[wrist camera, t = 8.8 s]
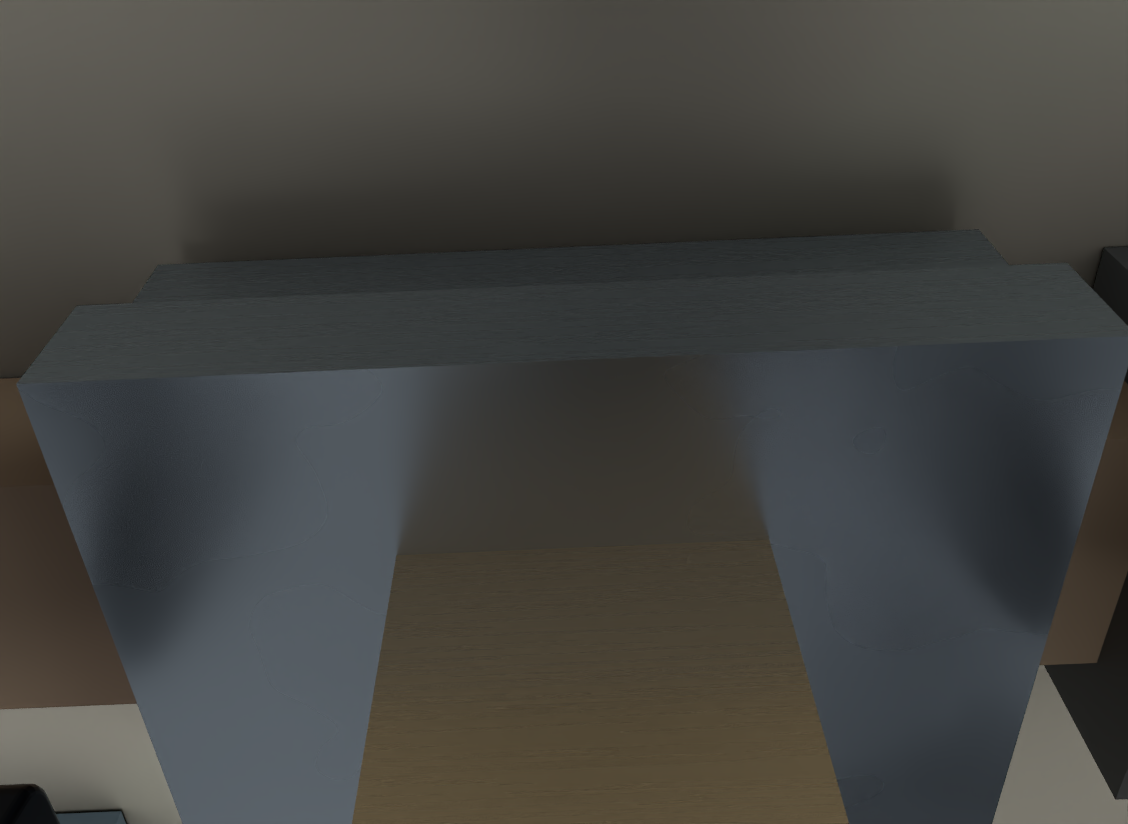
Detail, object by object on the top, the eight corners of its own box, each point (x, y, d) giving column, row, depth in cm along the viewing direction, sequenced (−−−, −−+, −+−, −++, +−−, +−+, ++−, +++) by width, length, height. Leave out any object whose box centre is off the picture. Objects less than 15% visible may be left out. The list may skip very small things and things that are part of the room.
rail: (1248, 241, 11) (1456, 398, 9) (1126, 597, 14) (1257, 793, 11) (-862, 333, 11) (-1271, 514, 9) (-565, 669, 14) (-808, 880, 11)
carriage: (988, 180, 10) (1878, 1105, 3) (890, 689, 14) (1216, 1591, 7) (145, 217, 10) (-618, 1204, 3) (280, 715, 14) (47, 1637, 7)
